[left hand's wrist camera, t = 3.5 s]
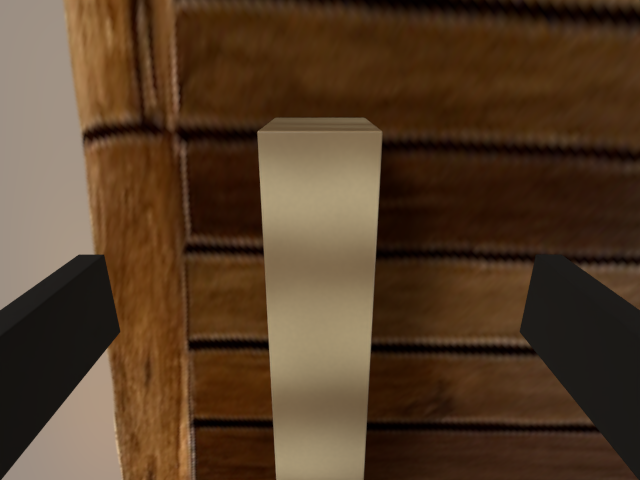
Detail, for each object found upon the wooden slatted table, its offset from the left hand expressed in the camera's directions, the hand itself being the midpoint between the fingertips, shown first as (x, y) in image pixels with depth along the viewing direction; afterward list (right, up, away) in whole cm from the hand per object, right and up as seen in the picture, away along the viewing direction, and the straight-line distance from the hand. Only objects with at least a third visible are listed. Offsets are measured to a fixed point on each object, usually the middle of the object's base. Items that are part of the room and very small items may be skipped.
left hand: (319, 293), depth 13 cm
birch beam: (0, -6, +20) cm, 21 cm away
